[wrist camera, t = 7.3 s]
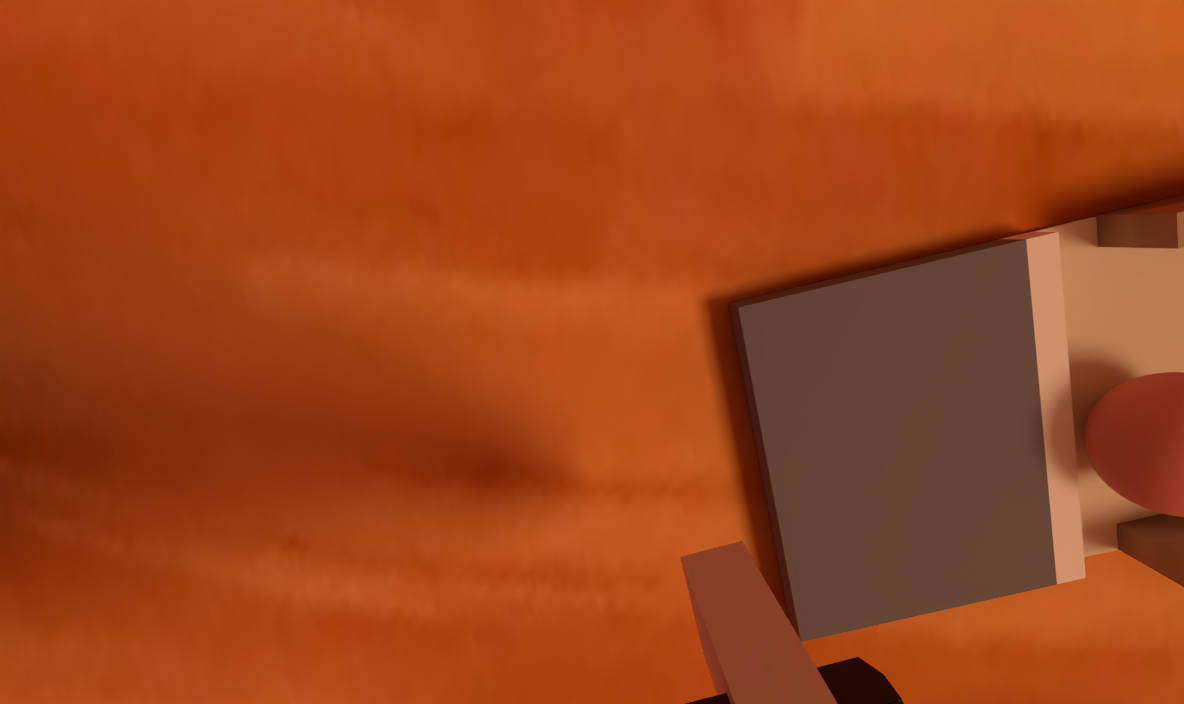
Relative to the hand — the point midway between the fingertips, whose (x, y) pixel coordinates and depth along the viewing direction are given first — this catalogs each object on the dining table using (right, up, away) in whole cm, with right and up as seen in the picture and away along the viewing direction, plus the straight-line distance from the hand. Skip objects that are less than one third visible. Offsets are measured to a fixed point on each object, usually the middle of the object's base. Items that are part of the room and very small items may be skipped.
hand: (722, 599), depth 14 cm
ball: (+15, +3, +4) cm, 16 cm away
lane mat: (+13, +4, +6) cm, 15 cm away
